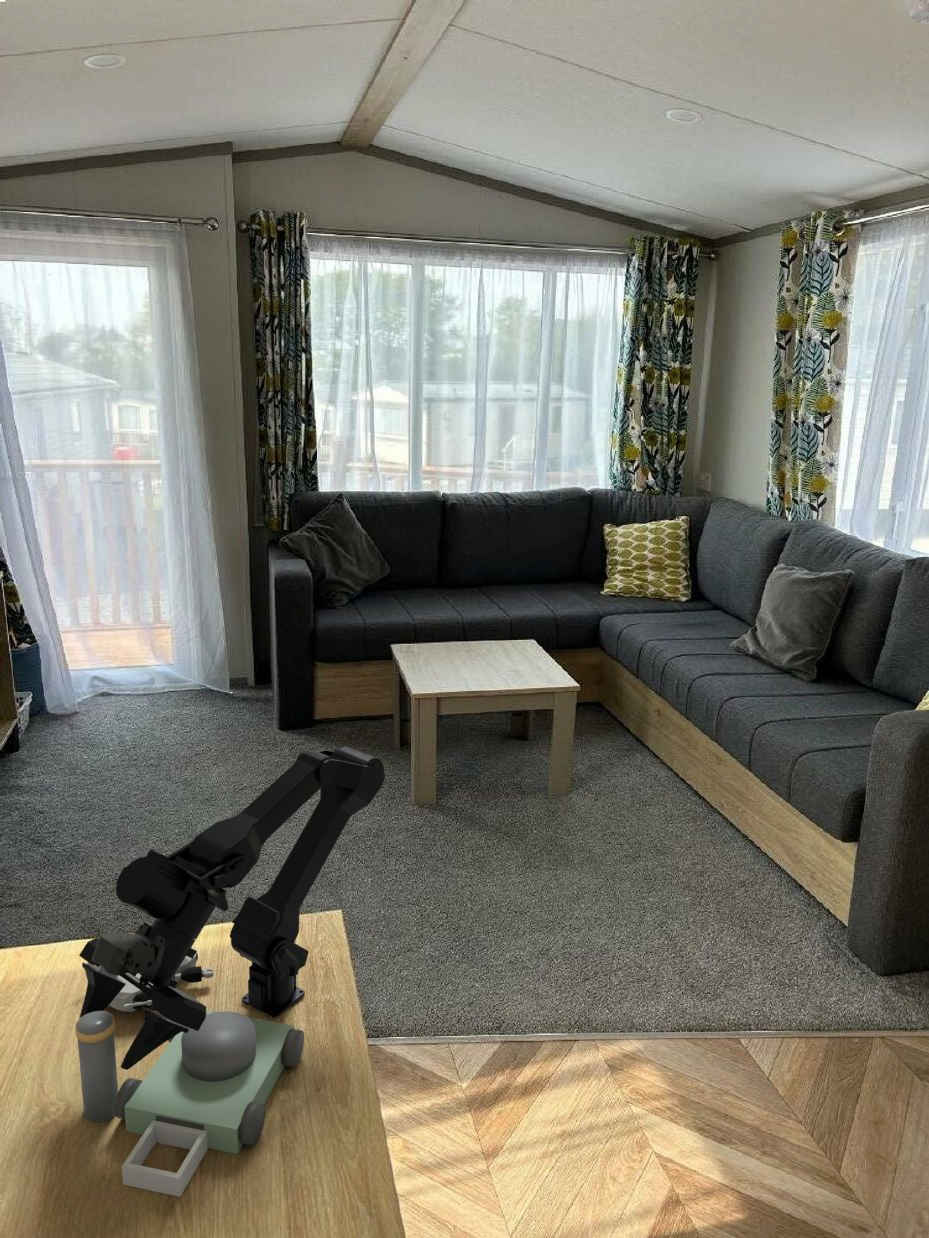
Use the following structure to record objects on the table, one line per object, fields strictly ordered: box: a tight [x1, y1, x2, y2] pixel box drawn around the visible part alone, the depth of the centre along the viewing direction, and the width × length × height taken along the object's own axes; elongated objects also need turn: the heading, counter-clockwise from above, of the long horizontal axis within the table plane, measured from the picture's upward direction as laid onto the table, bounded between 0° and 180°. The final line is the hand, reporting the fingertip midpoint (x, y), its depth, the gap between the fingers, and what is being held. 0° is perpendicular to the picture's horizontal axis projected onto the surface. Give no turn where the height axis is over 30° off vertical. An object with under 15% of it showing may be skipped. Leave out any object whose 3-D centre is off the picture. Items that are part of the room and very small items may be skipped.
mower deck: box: [114, 1009, 305, 1198], centre depth 119 cm, size 25×17×6 cm
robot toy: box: [85, 952, 215, 1013], centre depth 141 cm, size 12×4×15 cm
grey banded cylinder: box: [74, 1010, 119, 1123], centre depth 118 cm, size 4×4×12 cm
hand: (101, 1050), depth 117 cm, fingers open, 9 cm apart
